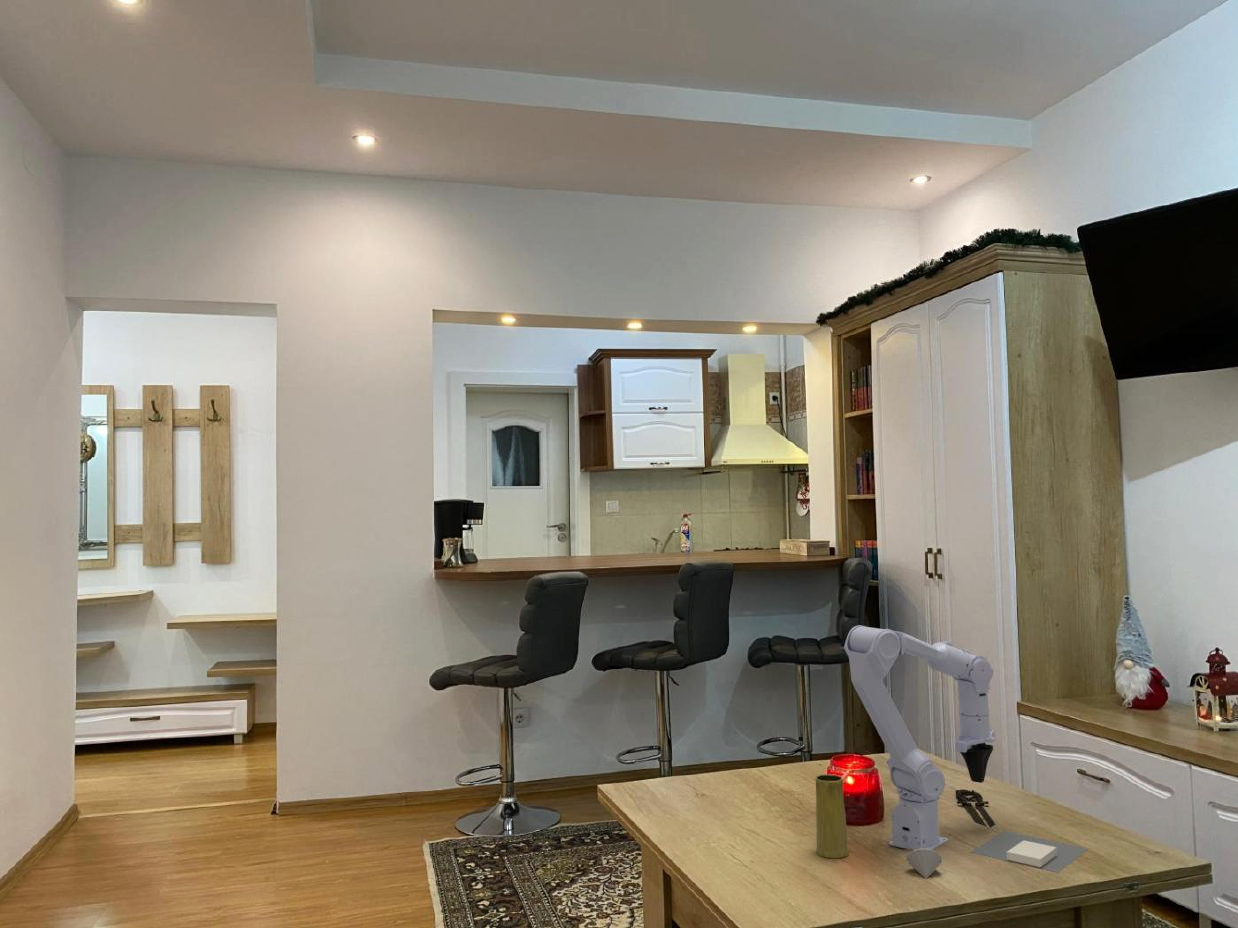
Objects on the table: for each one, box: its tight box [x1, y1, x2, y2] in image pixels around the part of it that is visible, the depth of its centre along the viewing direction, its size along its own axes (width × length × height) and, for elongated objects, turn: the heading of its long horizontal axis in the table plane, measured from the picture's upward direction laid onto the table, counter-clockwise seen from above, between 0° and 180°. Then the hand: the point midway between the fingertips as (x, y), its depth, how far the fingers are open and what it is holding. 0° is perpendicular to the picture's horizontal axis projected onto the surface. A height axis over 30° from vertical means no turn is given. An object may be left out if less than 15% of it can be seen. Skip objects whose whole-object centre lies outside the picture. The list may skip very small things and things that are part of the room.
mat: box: [969, 830, 1089, 874], centre depth 173 cm, size 16×16×1 cm
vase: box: [815, 773, 850, 859], centre depth 176 cm, size 6×6×14 cm
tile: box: [1007, 840, 1057, 869], centre depth 169 cm, size 2×6×8 cm
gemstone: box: [906, 848, 943, 880], centre depth 164 cm, size 6×6×5 cm
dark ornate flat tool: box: [955, 789, 997, 829], centre depth 199 cm, size 26×7×1 cm, turn 165°
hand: (977, 781), depth 187 cm, fingers closed
